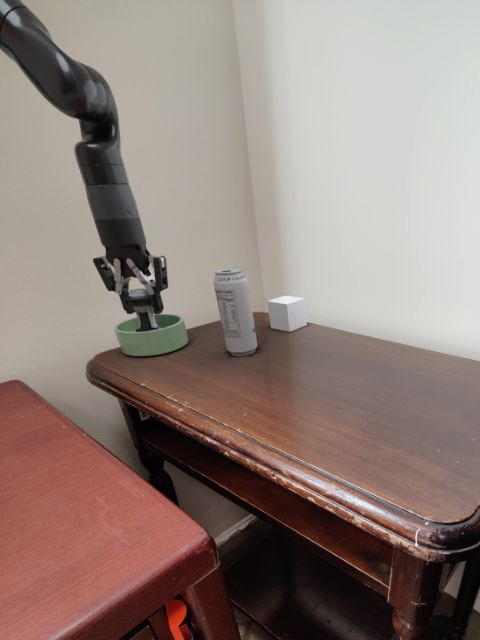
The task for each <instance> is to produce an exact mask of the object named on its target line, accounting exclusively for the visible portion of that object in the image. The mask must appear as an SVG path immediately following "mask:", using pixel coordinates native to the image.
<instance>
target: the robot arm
mask: <svg viewBox="0 0 480 640" xmlns="http://www.w3.org/2000/svg"><path fill="white" fill-rule="evenodd" d="M0 51H1V52H2V53H4V55H6V56H7V57H8V58H9V59H10V60H11V61H13V62H14V63H15V64H16V65H17V67H18V68H19V69H20V71H21V72H22V73H23V74H24V76H25V77H26V78H27V79H28V80H29V82H30V83H31V84H32V85H33V87H34V88H35V89H36V90H37V92H38V93H39V94H40V95H41V96H42V97H43V98H44V99H45V100H46V101H47V102H48V103H49V104H50V105H51V106H52V107H54V108H55V109H57V110H58V111H59V112H60V113H61V114H63V115H65V116H67V117H68V118H71V119H73V120H78V124H79V130H80V137H81V140H80V141H77V142H76V143H75V145H74V149H73V152H74V157H75V161H76V163H77V166H78V170H79V173H80V175H81V179H82V183H83V185H84V189H85V193H86V194H85V195H86V200H87V203H88V206H89V209H90V212H91V216H92V219H93V221H94V225H95V228H96V231H97V234H98V237H99V240H100V244H101V245H102V247H104V249H105V253H104V255H103V256H97V257H94V258H93V259H92V262H93V265H94V266H95V269H96V270H97V272H98V274H99V276H100V279H101V280H102V282H103V285H104V287H105V288H106V290H107V291H108V292H114V293H116V294H117V295H118V296H119V300H120V303H121V306H122V309H123V311H125V313H126V314H127V315H132V314H134V313H135V314H136V312H135V308H133V307H132V306H130V305H129V304H128V301H127V300H126V299H125V297H126V296H128V295H129V292H128V291H130V282H131V280H132V278H134V279H137V280H138V281H139V283H141V285H143V286H144V289H147V291H148V292H149V294H150V295H149V298H150V302H151V305H152V310H153V313H154V315H155V314H163V312H164V310H165V306H164V303H163V298H162V295H161V293H162V291H165V290H167V289H169V277H168V266H167V258H166V256H165V255H159V256H158V255H154V254H151V252H150V251H149V250H148V248H147V239H146V235H145V231H144V227H143V223H142V221H141V215H140V212H139V209H138V205H137V202H136V198H135V195H134V193H133V190H132V188H131V185H130V180H129V177H128V173H127V169H126V166H125V162H124V159H123V156H122V143H121V141H122V139H121V131H120V120H119V112H118V106H117V102H116V99H115V96H114V93H113V91H112V89H111V87H110V85H109V83H108V82H107V80H106V78H105V77H104V76H103V74H101V73H100V71H98V70H97V69H95V68H93V67H92V66H90V65H87V64H85V63H82V62H80V61H78V60H75V59H73V58H72V57H71V56H70V55H68V54H67V53H66V52H64V50H62V48H60V47H59V46H58V45H57V44H56V43H55V42H54V40H53V37H52V35H51V32H50V31H49V30H48V28H47V27H46V25H45V24H44V23H43V21H41V19H40V18H39V17H38V16H37V15H36V14H35V13H34V12H33V11H32V10H31V9H30V8H29V7H28V6H27V5H26V4H25V3H24V2H23V1H22V0H0ZM150 265H151V268H153V271H152V270H151V268H150ZM112 268H113V269H114V271H113V269H112Z"/></svg>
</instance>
